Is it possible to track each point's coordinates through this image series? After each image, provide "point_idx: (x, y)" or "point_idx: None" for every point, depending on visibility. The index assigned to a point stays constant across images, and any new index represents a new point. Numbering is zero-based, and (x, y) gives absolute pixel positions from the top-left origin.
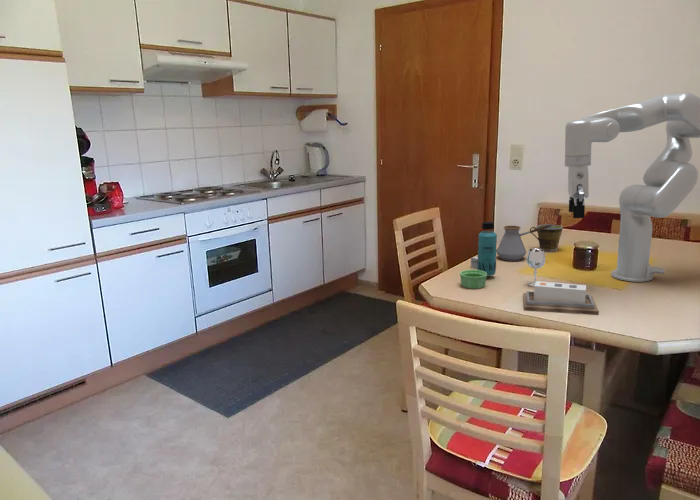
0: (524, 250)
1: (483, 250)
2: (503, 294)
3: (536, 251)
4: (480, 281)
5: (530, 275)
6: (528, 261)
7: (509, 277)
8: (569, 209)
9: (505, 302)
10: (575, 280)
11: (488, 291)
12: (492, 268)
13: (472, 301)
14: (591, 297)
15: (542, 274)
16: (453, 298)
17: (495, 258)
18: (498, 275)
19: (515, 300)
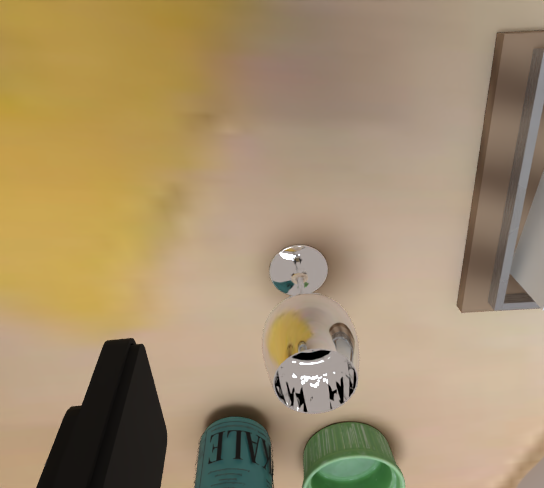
0: None
1: None
2: (443, 363)
3: (269, 368)
4: (388, 452)
5: (159, 289)
6: (335, 369)
7: (216, 360)
8: (163, 465)
9: (533, 352)
10: (183, 93)
11: (412, 406)
12: (259, 446)
13: (522, 434)
14: (522, 39)
15: (125, 243)
16: (492, 479)
17: (241, 474)
18: (198, 395)
19: (511, 325)
